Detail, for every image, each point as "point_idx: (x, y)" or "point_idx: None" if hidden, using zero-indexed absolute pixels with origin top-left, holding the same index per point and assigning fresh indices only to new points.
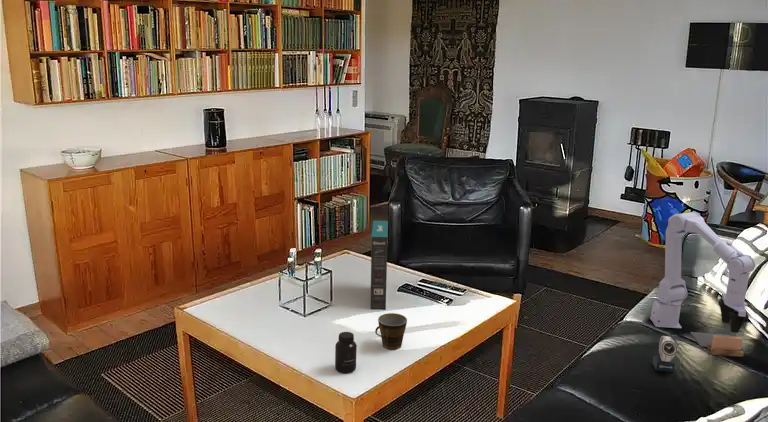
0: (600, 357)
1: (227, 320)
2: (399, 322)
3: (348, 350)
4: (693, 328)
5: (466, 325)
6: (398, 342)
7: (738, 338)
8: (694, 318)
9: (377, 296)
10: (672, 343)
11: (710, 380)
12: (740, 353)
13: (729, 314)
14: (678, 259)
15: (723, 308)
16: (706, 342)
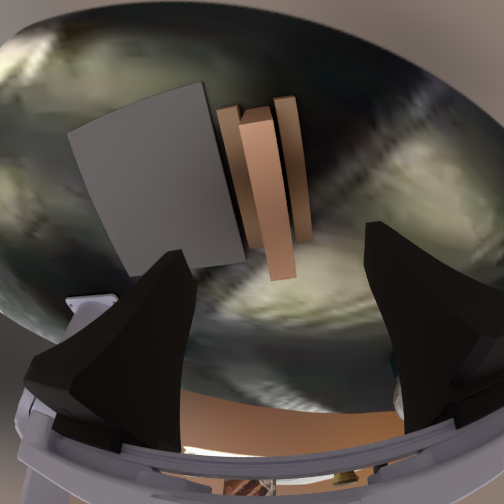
0: (361, 407)
1: (317, 480)
2: (335, 479)
3: None
4: (85, 257)
5: None
6: None
7: (272, 147)
8: (18, 243)
9: (274, 484)
10: None
11: (473, 265)
12: (296, 112)
13: (408, 421)
14: None
15: (172, 404)
16: (199, 237)
